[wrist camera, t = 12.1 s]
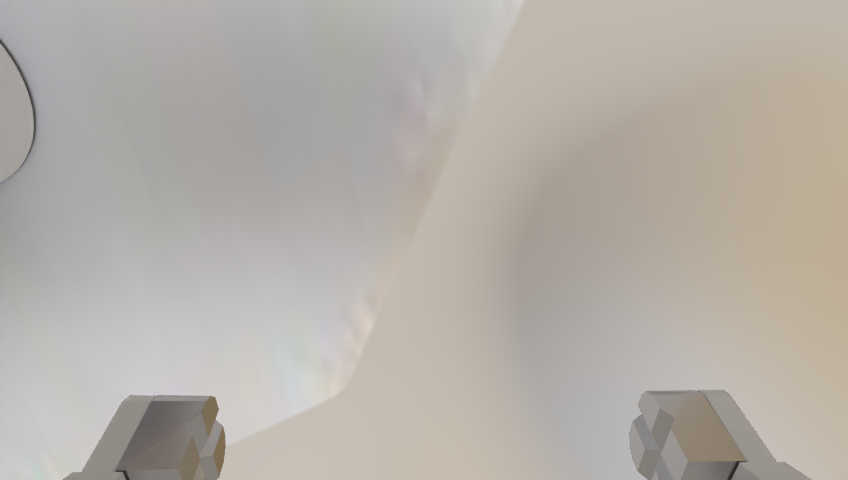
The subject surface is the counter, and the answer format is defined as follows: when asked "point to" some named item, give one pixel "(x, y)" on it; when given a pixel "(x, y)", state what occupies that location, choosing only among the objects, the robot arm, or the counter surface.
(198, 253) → the counter surface
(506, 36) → the counter surface
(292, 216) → the counter surface
